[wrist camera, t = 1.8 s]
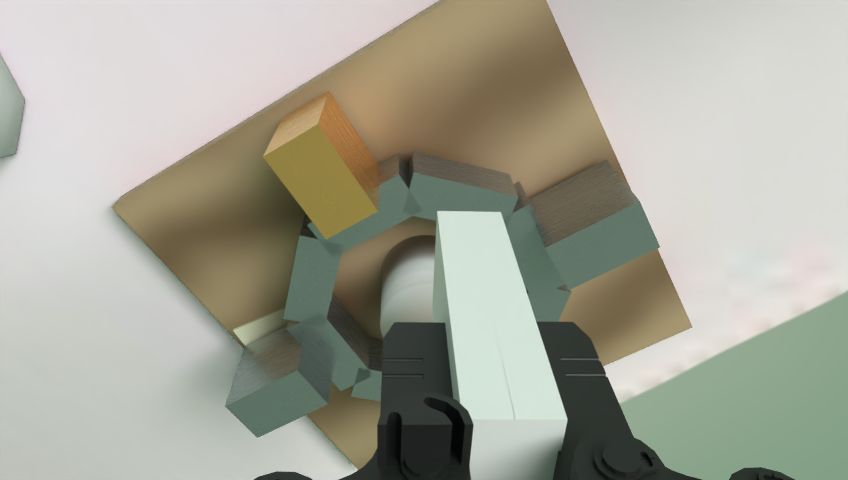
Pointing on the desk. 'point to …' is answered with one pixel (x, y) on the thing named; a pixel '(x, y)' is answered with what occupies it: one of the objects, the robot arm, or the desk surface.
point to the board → (403, 133)
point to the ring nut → (386, 207)
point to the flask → (9, 111)
